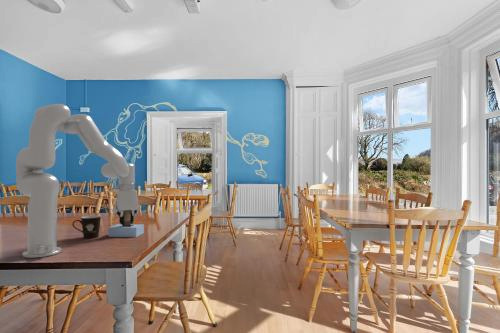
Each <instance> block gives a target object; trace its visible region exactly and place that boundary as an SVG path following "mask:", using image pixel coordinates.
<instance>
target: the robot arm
mask: <svg viewBox="0 0 500 333" xmlns="http://www.w3.org/2000/svg"><path fill="white" fill-rule="evenodd" d="M71 113H72V112H71V109H70V108H69V107H68V106H67V105H65V104H63V103H55V104H54V103H53V104H49V105H43V106H40V107H38V108H37V109H35V111H34V114H33V118H34V119H33V121H32V123H31V124H30V128H29V132H28V133H29V134H28V135H29V136H28V137H29V138H28V146H26V147H23V148H22V149H21V150H19V151H18V154H17V155H16V158H15V160H16V161H15V172H16V173H15V175H16V176H15V177H16V178H15V180H16V187H17V190H18V192H19V193H20V194H21V195H23V196H26V197H29V200H28V203H27V204H28V205H27V250H25V251H23V252H22V257H23V258H28V259H29V258H30V259H34V258H37V259H38V258H45V257H50V256H53V255H57V254H60V253H61V252H62V248H61V247H60V246H58V245H57V244H58V198H59V194H60V187H61V186H60V181H59V180H58V178H57V177H56V176H54V174H50V173H47V172H46V173H45V172H44V170H48V169H50V168H52V167H53V166H54V165H55V163H56V133H57V132H61V133H65V134H68V135H69V134H70V135H75V134H76V135H77V136H78V137H79V139H80V140H81V141H82V143H83V144H84V146H85V147H86V149H87V150H88V151H89V152H90V153H92V154H94V155H96V156H99V157H101V158H103V159H104V160H105V161H107V162H106V163H105V164H104V163H103V165H102V167H101V169H100V173H101V175H103V177H105V178H107V179H118V184H117V185H116V186H115V189H117V191H116V195H115V204H114V207H113V208H112V209H111V211H112V213H114V214H116V215H117V216H118V217H119V218H118V219H119V222H118V223H119V224H121V225H123V224H124V217H123V212H124V211H127V210H131V224H134V223H133V222H134V221H135V220H134V218H135V217H134V216H135V215H136V214H137V212H139V211H140V210H141V207H140V205H139V197H138V191H137V189H136V188H135V186H136V185H135V184H136V179H135V178H136V173H135V172H136V168H135V164H133V163H130V162H127V160H126V159H125V157H124V156H123V154H122V153H121V152H120V151H119V150H118V149H116V148H115V147H114V146H113V145H112V144H110V143H109V142H107V140H106V139H105V138H104V135H103V134H102V133H101V131H100V129H99V128H98V126H97V125H96V123H95V122H94V119H93V118H92V117H91V116H90V115H88V114H85V113H80V114H79V113H77V114H71Z"/></svg>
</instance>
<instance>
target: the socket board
mask: <svg viewBox="0 0 500 333" xmlns="http://www.w3.org/2000/svg"><path fill="white" fill-rule="evenodd" d="M144 233H145V224H139V223H138V224H134V223H133V224H131V227H122V225H121V224H120V223H119V224H118V223H117V224H114V225H112V226H111V225H110V226H109V227H108V237H109V238H110V237H112V238H115V237H116V238H118V237H119V238H120V237H121V238H137V237H139V236H141V235H143V234H144Z"/></svg>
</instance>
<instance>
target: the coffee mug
mask: <svg viewBox="0 0 500 333" xmlns="http://www.w3.org/2000/svg"><path fill="white" fill-rule="evenodd" d="M101 218H102V215H85V216H81V217H80V219H81V220H80V219H76V220H73V221H72V227H73V228H74V229H75V230H77V231H78V232H81V233H82V236H83V239H87V240H89V239H90V240H91V239H97V238H99V234H100V228H101ZM76 222H79V223H80V224H81V227H82V228H81V229H82V230H81V229H79V228H77V227H76V226H75V223H76Z"/></svg>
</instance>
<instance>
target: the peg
mask: <svg viewBox="0 0 500 333" xmlns="http://www.w3.org/2000/svg"><path fill="white" fill-rule="evenodd" d="M123 217H124V224H123V225H122V227H131V210H127V211H124V212H123Z"/></svg>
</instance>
